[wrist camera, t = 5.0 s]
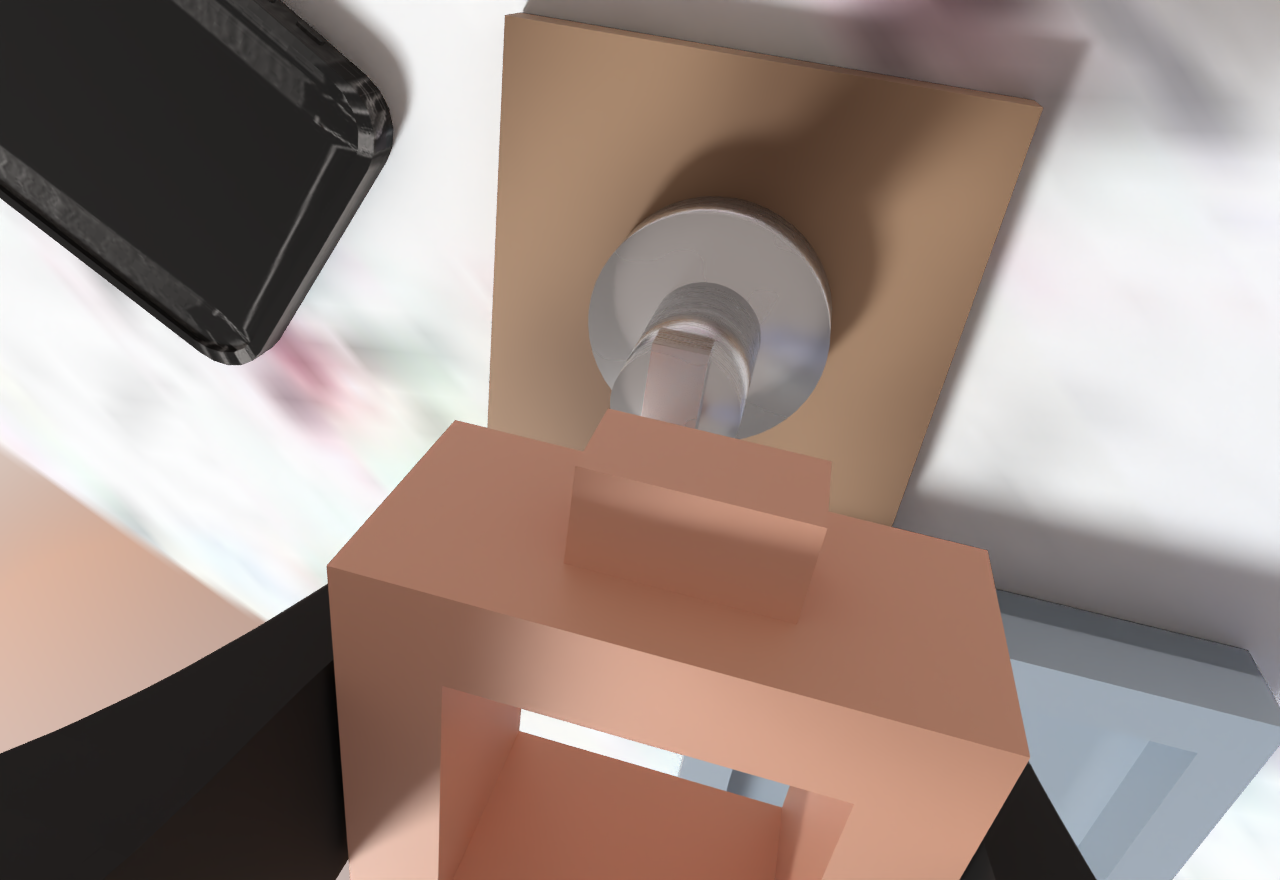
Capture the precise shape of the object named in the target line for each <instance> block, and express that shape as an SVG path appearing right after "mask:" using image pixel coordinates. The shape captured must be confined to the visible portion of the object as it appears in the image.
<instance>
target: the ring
mask: <svg viewBox="0 0 1280 880" xmlns="http://www.w3.org/2000/svg"><path fill="white" fill-rule="evenodd" d="M831 467H832V461H828V460H824V459H820V458H816V457H811V456H807V455H803V454H799V453H795V452H790V451H786V450H782V449H778V448H773V447H769V446H765V445H761V444H757V443H752V442H748V441H744V440H740V439H735V438H731V437H727V436H723V435H719V434H714V433H710V432H706V431H702V430H697V429H693V428H689V427H685V426H681V425H676V424H672V423H668V422H664V421H660V420H655V419H651V418H647V417H643V416H638V415H634V414H630V413H626V412H622V411H617V410H613V409H609V408H608V409H607V411H606V413H605V414H604V416H603V418H602V420H601V421H600V423H599V425H598V427H597V428H596V430H595V432H594V434H593V435H592V437H591V439H590V441H589V442H588V444H587V446H586V448H585V449H584V451H579V450H575V449H571V448H567V447H563V446H559V445H555V444H551V443H547V442H542V441H538V440H534V439H530V438H526V437H522V436H518V435H514V434H510V433H506V432H502V431H497V430H493V429H489V428H485V427H481V426H477V425H473V424H469V423H465V422H461V421H457V420H455V421H454V422H453V423H452V424H451V425H450V427H449V428H448V429H447V430H446V431H445V432H444V433H443V434H442V436H441V437H440V438H439V439H438V440H437V441H436V442H435V444H434V445H433V446H432V447H431V448H430V449H429V450H428V451H427V453H426V454H425V455H424V456H423V457H422V458H421V459H420V461H419V462H418V463H417V464H416V465H415V466H414V467H413V468H412V470H411V471H410V472H409V473H408V474H407V475H406V476H405V478H404V479H403V480H402V481H401V482H400V483H399V484H398V485H397V487H396V488H395V489H394V490H393V491H392V492H391V493H390V495H389V496H388V497H387V498H386V499H385V500H384V501H383V502H382V504H381V505H380V506H379V507H378V508H377V509H376V510H375V511H374V513H373V514H372V515H371V516H370V517H369V518H368V519H367V521H366V522H365V523H364V524H363V525H362V526H361V527H360V528H359V530H358V531H357V532H356V533H355V534H354V535H353V536H352V538H351V539H350V540H349V541H348V542H347V543H346V544H345V545H344V547H343V548H342V549H341V550H340V551H339V552H338V553H337V555H336V556H335V557H334V558H333V559H332V560H331V561H330V562H329V564H328V565H327V577H328V591H329V604H330V617H331V631H332V644H333V657H334V671H335V684H336V698H337V711H338V724H339V738H340V751H341V765H342V778H343V791H344V805H345V818H346V831H347V845H348V858H349V871H350V880H960V878H961V876H962V874H963V873H964V871H965V869H966V868H967V866H968V864H969V862H970V861H971V859H972V857H973V855H974V854H975V852H976V850H977V849H978V847H979V845H980V843H981V842H982V840H983V838H984V837H985V835H986V833H987V831H988V830H989V828H990V826H991V825H992V823H993V821H994V819H995V818H996V816H997V814H998V813H999V811H1000V809H1001V807H1002V806H1003V804H1004V802H1005V801H1006V799H1007V797H1008V795H1009V794H1010V792H1011V790H1012V788H1013V787H1014V785H1015V783H1016V782H1017V780H1018V778H1019V776H1020V775H1021V773H1022V771H1023V770H1024V768H1025V766H1026V764H1027V763H1028V761H1029V759H1030V753H1029V749H1028V744H1027V739H1026V734H1025V729H1024V724H1023V719H1022V715H1021V710H1020V705H1019V700H1018V695H1017V690H1016V685H1015V681H1014V676H1013V671H1012V666H1011V661H1010V656H1009V652H1008V647H1007V642H1006V637H1005V632H1004V627H1003V622H1002V618H1001V613H1000V608H999V603H998V598H997V593H996V588H995V584H994V579H993V574H992V569H991V564H990V559H989V555H988V550H984V549H980V548H976V547H972V546H968V545H964V544H960V543H955V542H951V541H947V540H943V539H939V538H935V537H931V536H927V535H923V534H919V533H915V532H910V531H906V530H902V529H898V528H894V527H890V526H886V525H882V524H878V523H874V522H870V521H865V520H861V519H857V518H853V517H849V516H845V515H841V514H837V513H833V512H829V498H830V482H831ZM521 709H524V710H528V711H531V712H535V713H538V714H542V715H545V716H549V717H552V718H556V719H559V720H563V721H566V722H570V723H573V724H577V725H580V726H584V727H587V728H591V729H594V730H598V731H601V732H605V733H608V734H612V735H615V736H619V737H622V738H626V739H629V740H632V741H636V742H639V743H643V744H646V745H650V746H653V747H657V748H660V749H664V750H667V751H671V752H674V753H678V754H681V755H685V756H688V757H692V758H695V759H699V760H702V761H706V762H709V763H713V764H716V765H720V766H723V767H727V768H730V769H734V770H737V771H741V772H744V773H748V774H751V775H755V776H758V777H761V778H765V779H768V780H772V781H775V782H779V783H782V784H786V785H789V786H790V787H789V789H788V792H787V795H786V798H785V800H784V803H783V806H782V807H779V806H775V805H772V804H769V803H765V802H762V801H758V800H755V799H751V798H748V797H745V796H741V795H738V794H734V793H731V792H727V791H724V790H720V789H717V788H714V787H710V786H707V785H703V784H700V783H696V782H693V781H689V780H686V779H683V778H679V777H676V776H672V775H669V774H665V773H662V772H658V771H655V770H652V769H648V768H645V767H641V766H638V765H634V764H631V763H627V762H624V761H621V760H617V759H614V758H610V757H607V756H603V755H600V754H596V753H593V752H590V751H586V750H583V749H579V748H576V747H572V746H569V745H565V744H562V743H559V742H555V741H552V740H548V739H545V738H541V737H538V736H534V735H531V734H528V733H524V732H521V731H519V726H520V715H521Z"/></svg>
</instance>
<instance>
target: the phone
mask: <svg viewBox="0 0 1280 880" xmlns="http://www.w3.org/2000/svg"><path fill="white" fill-rule="evenodd" d="M392 141H393V125H392V121H391V116H390V112H389V108H388V106H387V104H386V102H385V100H384V98H383V97H382V95H381V93H380V91H379V89H378V88H377V87H376V86H375V85H374V84H373V83H372V81H371V80H370V79H369V78H368V77H367V76H366V75H365V74H364V73H363V72H362V71H361V70H360V69H358V68H357V67H356V66H355V65H354V64H353V63H352V62H350V61H349V60H348V59H347V58H346V57H345V56H343V55H342V54H341V53H340V52H339V51H338V50H337V49H335V48H334V47H333V46H332V45H331V44H330V43H329V42H327V41H326V40H325V39H324V38H323V37H322V36H321V35H320V34H319V33H317V32H316V31H315V30H314V29H313V28H312V27H310V26H309V25H308V24H307V23H306V22H305V21H303V20H302V19H301V18H300V17H299V16H298V15H296V14H295V13H294V12H293V11H292V10H291V9H289V8H288V7H287V6H286V5H285V4H284V3H283V2H281V1H280V0H0V198H1V199H2V200H3V201H5V202H6V203H7V204H9V205H10V206H11V207H13V208H14V209H15V210H16V211H18V212H19V213H20V214H22V215H23V216H24V217H26V218H27V219H28V220H29V221H31V222H32V223H33V224H35V225H36V226H37V227H38V228H40V229H41V230H42V231H44V232H45V233H46V234H48V235H49V236H50V237H51V238H53V239H54V240H55V241H57V242H58V243H59V244H60V245H62V246H63V247H64V248H66V249H67V250H68V251H70V252H71V253H72V254H73V255H75V256H76V257H77V258H79V259H80V260H81V261H82V262H84V263H85V264H86V265H88V266H89V267H90V268H92V269H93V270H94V271H95V272H97V273H98V274H99V275H101V276H102V277H103V278H105V279H106V280H107V281H108V282H110V283H111V284H112V285H114V286H115V287H116V288H117V289H119V290H120V291H121V292H123V293H124V294H125V295H127V296H128V297H129V298H130V299H132V300H133V301H134V302H136V303H137V304H138V305H139V306H141V307H142V308H143V309H145V310H146V311H147V312H149V313H150V314H151V315H152V316H154V317H155V318H156V319H158V320H159V321H160V322H162V323H163V324H164V325H165V326H167V327H168V328H169V329H171V330H172V331H173V332H174V333H176V334H177V335H178V336H180V337H181V338H182V339H184V340H185V341H186V342H187V343H189V344H190V345H191V346H193V347H194V348H195V349H196V350H198V351H199V352H200V353H202V354H204V355H205V356H207V357H209V358H210V359H212V360H214V361H217V362H220V363H223V364H226V365H243V364H245V363H248V362H250V361H253V360H254V359H256V358H257V357H259V356H260V355H262V354H263V353H265V352H266V351H268V350H269V349H271V348H272V347H273V346H274V345H275V344H276V343H277V342H278V341H279V340H280V338H281V336H282V335H283V333H284V331H285V330H286V328H287V326H288V325H289V323H290V321H291V320H292V318H293V316H294V315H295V313H296V311H297V310H298V308H299V306H300V305H301V303H302V301H303V300H304V298H305V296H306V295H307V293H308V291H309V290H310V288H311V286H312V285H313V283H314V281H315V280H316V278H317V276H318V275H319V273H320V271H321V270H322V268H323V266H324V265H325V263H326V261H327V260H328V258H329V257H330V255H331V253H332V252H333V250H334V248H335V247H336V245H337V243H338V242H339V240H340V238H341V237H342V235H343V233H344V232H345V230H346V228H347V227H348V225H349V223H350V222H351V220H352V218H353V217H354V215H355V213H356V212H357V210H358V208H359V207H360V205H361V203H362V202H363V200H364V198H365V197H366V195H367V193H368V192H369V190H370V188H371V187H372V185H373V183H374V182H375V180H376V178H377V177H378V175H379V173H380V172H381V170H382V168H383V167H384V165H385V163H386V161H387V159H388V156H389V154H390V151H391V148H392Z"/></svg>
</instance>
